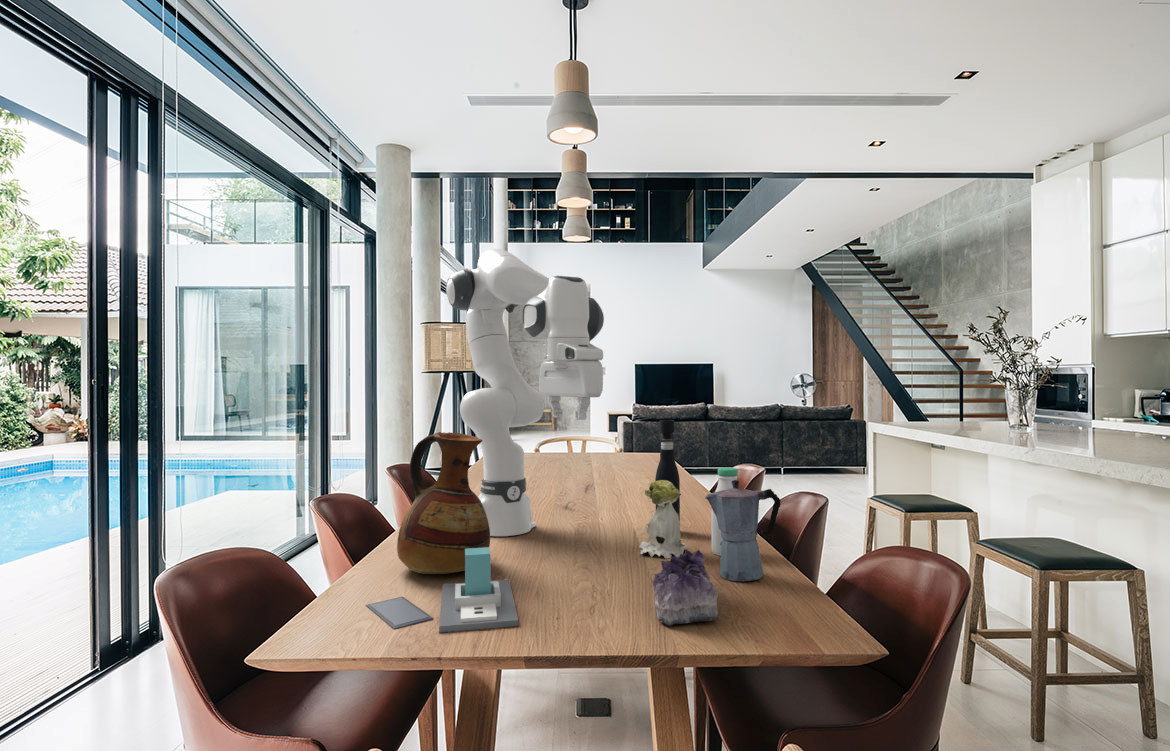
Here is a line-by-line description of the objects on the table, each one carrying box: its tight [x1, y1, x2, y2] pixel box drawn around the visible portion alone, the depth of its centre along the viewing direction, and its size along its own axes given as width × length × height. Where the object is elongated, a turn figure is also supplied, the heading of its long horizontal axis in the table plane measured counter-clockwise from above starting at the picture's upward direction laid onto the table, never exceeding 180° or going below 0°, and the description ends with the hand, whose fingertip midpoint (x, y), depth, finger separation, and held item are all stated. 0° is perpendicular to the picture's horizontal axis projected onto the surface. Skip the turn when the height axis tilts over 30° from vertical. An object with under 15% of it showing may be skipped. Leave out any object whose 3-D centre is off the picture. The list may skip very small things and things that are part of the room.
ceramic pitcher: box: [396, 431, 491, 575], centre depth 139 cm, size 20×20×30 cm
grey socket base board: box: [438, 578, 519, 633], centre depth 117 cm, size 22×13×3 cm, turn 11°
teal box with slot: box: [464, 546, 492, 596], centre depth 117 cm, size 4×5×9 cm
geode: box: [652, 549, 719, 627], centre depth 115 cm, size 20×12×10 cm, turn 172°
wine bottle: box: [654, 419, 681, 522], centre depth 170 cm, size 6×6×30 cm
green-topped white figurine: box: [638, 480, 688, 559], centre depth 152 cm, size 11×12×17 cm
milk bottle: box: [710, 466, 739, 557], centre depth 150 cm, size 8×8×20 cm
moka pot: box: [704, 480, 782, 582], centre depth 133 cm, size 10×15×20 cm, turn 88°
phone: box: [365, 596, 434, 630], centre depth 114 cm, size 7×14×1 cm, turn 38°
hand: (568, 418), depth 134 cm, fingers open, 8 cm apart
